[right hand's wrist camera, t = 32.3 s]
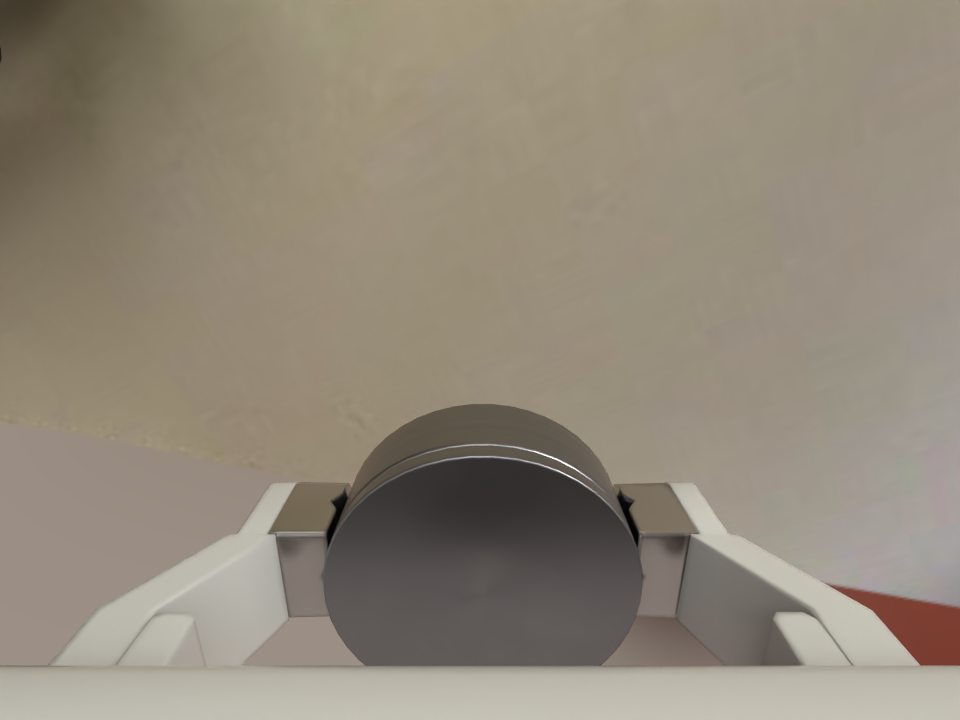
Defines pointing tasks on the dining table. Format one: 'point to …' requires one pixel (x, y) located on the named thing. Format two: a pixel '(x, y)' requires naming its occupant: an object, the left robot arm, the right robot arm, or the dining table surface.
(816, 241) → the dining table surface
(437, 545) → the lid
